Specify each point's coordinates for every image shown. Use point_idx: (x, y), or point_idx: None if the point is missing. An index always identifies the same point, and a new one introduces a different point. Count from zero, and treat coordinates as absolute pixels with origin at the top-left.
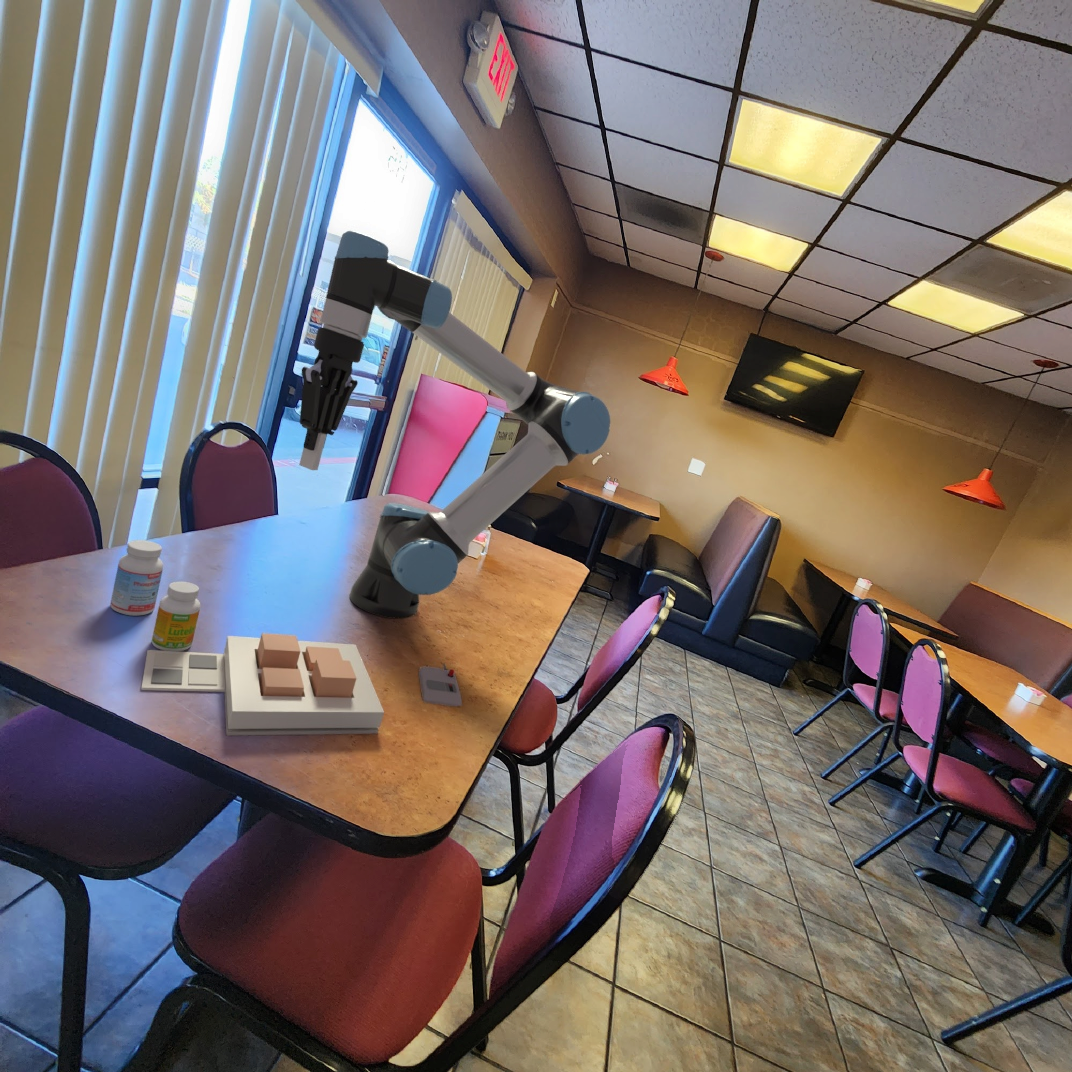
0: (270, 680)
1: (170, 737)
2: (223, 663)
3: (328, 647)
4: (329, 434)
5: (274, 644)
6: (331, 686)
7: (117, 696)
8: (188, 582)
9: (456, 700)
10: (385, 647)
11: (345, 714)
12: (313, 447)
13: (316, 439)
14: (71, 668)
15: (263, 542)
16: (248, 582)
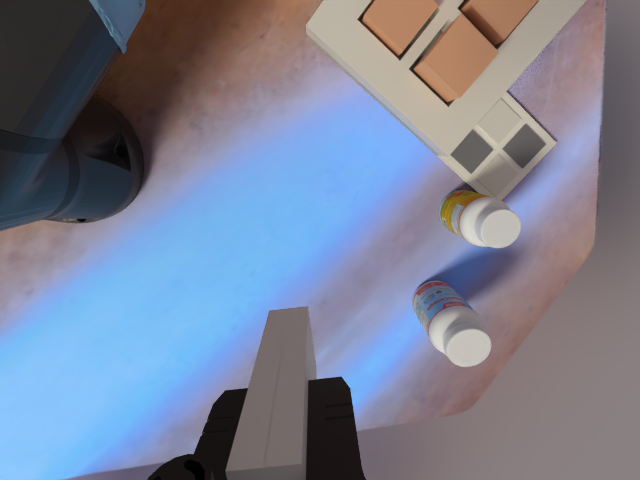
0: (526, 2)
1: (602, 47)
2: None
3: (354, 46)
4: (205, 465)
5: (475, 55)
6: None
7: (576, 146)
8: (484, 239)
9: None
10: (211, 36)
11: None
12: (321, 391)
13: (309, 437)
14: (566, 215)
15: (126, 411)
16: (253, 308)
